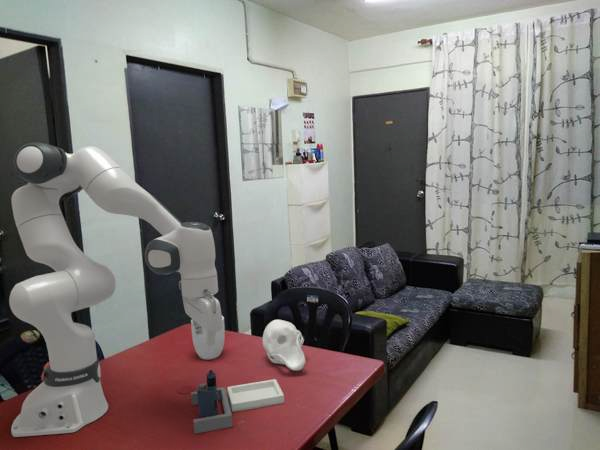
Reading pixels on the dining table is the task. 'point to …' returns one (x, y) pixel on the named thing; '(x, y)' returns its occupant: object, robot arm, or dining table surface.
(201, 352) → the mug
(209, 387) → the vaping device
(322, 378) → the dining table surface
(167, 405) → the dining table surface
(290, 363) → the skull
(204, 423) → the bay
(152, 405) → the dining table surface
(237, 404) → the tray
